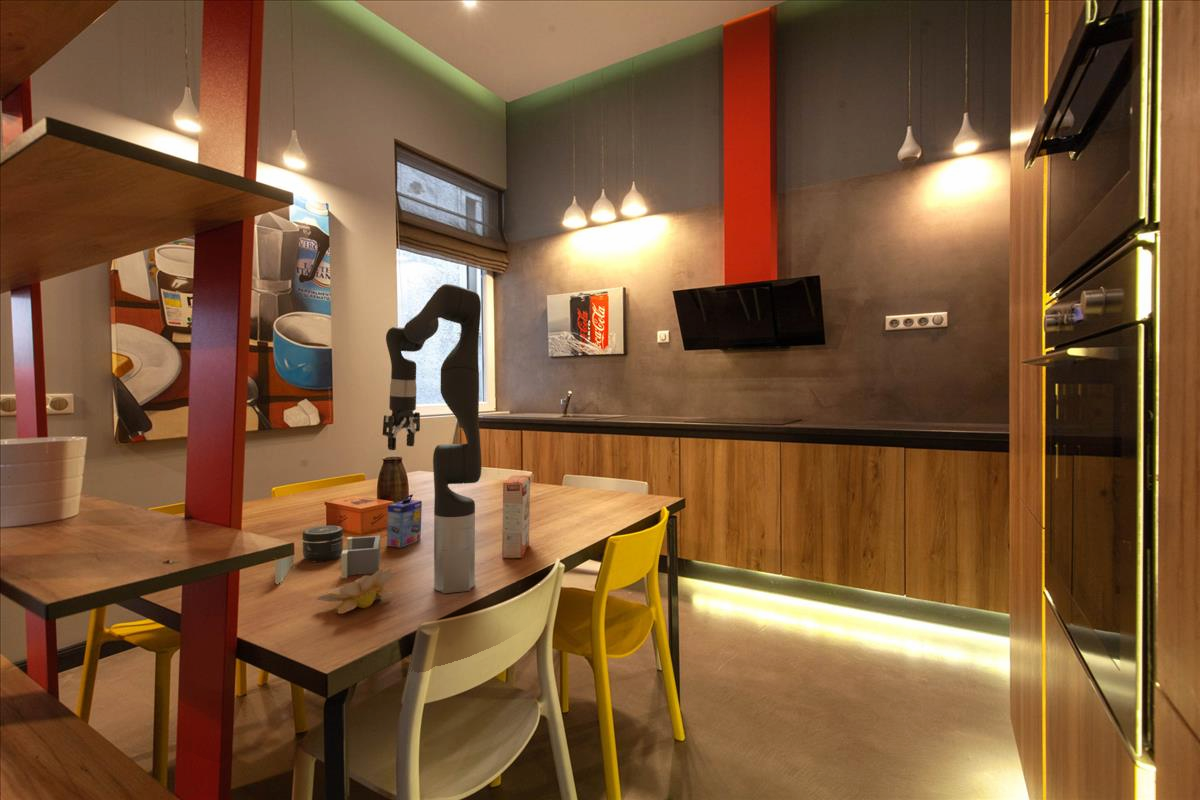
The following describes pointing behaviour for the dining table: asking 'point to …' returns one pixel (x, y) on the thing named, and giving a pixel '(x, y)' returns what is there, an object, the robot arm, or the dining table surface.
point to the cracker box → (516, 516)
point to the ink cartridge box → (404, 522)
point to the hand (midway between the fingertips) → (401, 447)
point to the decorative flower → (360, 591)
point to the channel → (346, 558)
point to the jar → (322, 543)
